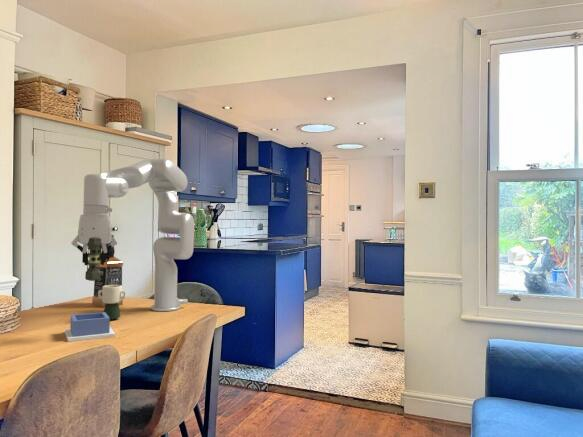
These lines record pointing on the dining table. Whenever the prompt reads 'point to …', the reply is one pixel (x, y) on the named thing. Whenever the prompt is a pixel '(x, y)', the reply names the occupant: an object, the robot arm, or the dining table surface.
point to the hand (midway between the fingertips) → (94, 264)
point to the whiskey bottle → (108, 276)
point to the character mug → (112, 299)
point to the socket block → (89, 327)
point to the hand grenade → (93, 259)
